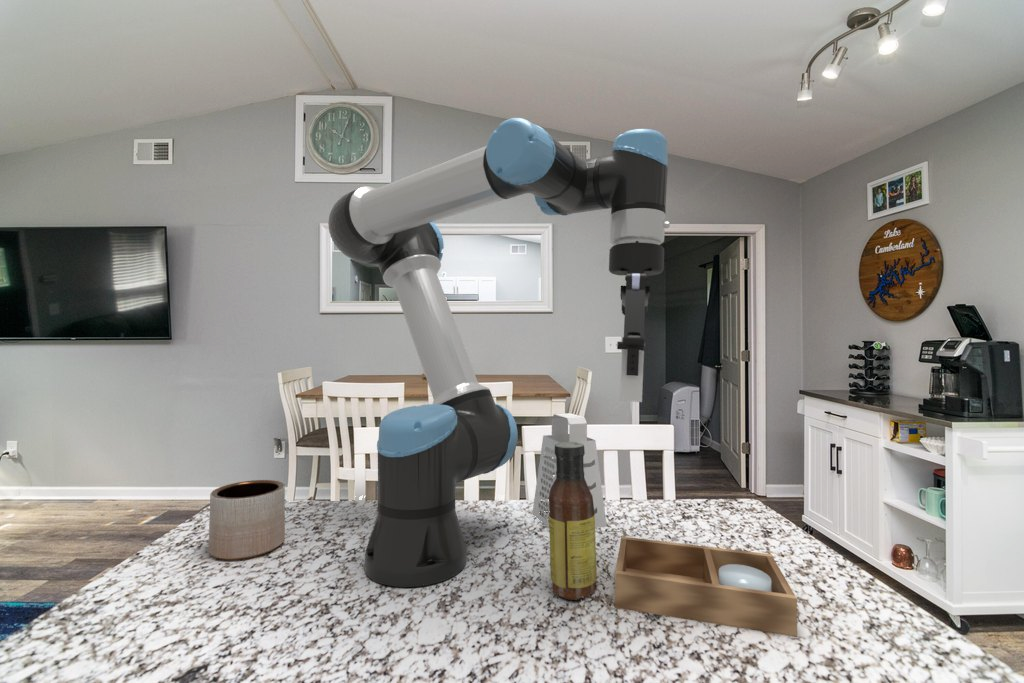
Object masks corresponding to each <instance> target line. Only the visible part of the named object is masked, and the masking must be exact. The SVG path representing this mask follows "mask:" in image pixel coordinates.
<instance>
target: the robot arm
mask: <svg viewBox="0 0 1024 683" xmlns="http://www.w3.org/2000/svg"><path fill="white" fill-rule="evenodd" d="M612 146H613V147H612V148H611V150H612V151H611V153H609V154H604V155H602V156H596V157H591V158H585V159H583V158H581V157H580V156H578V155H577V154H575V153H574V152H573V151H571V150H570V149H568V148H567V147H566V146H564V145H563V144H562V143H560V142H559V141H558V140H556V138H554V137H552V135H550V134H549V132H548V131H547V130H545V129H544V128H543V127H541V126H540V125H537V124H535V123H533V122H531V121H529V120H527V119H525V118H522V117H512V118H511V117H510V118H509V119H506V120H504V121H502V122H501V123H499V126H498V127H496V129H495V130H493V131H492V133H491V134H490V137H489V138H488V140H487V144H486V145H485V146H483V147H480V148H477V149H475V150H471V151H470V152H467V153H464V154H462V155H459V156H457V157H455V158H452V159H449V160H447V161H445V162H441V163H439V164H436V165H434V166H431V167H429V168H426V169H423V170H420V171H418V172H415V173H413V174H409V175H408V176H405V177H403V178H400V179H397V180H395V181H393V182H390V183H386V184H384V185H383V186H380V187H377V188H375V187H372V186H368V185H367V186H361V187H358V188H356V189H354V190H352V191H349V192H348V193H347V192H346V194H344V195H342V196H341V197H340V198H339V199H338V200H337V201H336V202H335V203H334V204H333V207H332V208H331V210H330V212H329V216H328V233H329V235H330V237H331V240H332V242H333V244H334V245H335V247H336V248H337V249H338V250H339V251H340V252H341V253H342V254H343V255H344V256H346V257H347V258H349V259H351V260H352V261H353V260H354V261H355V262H359V263H364V264H369V265H374V266H377V267H378V269H379V271H380V274H381V277H382V280H383V282H384V283H385V285H386V286H388V287H389V288H393V289H394V290H395V294H396V296H397V299H398V302H399V304H400V308H401V310H402V313H403V316H404V319H405V321H406V324H407V327H408V330H409V333H410V336H411V339H412V341H413V344H414V348H415V350H416V353H417V356H418V359H419V361H420V364H421V367H422V370H423V373H424V376H425V378H426V382H427V385H428V387H429V390H430V393H431V396H432V398H433V399H432V400H433V402H432V403H431V404H429V403H428V404H421V405H412V406H411V405H410V406H407V407H403V408H399V409H396V410H393V411H392V412H389V413H387V414H386V415H385V416H383V418H382V419H381V420H380V423H379V427H378V440H377V443H376V449H377V515H376V518H375V521H374V524H373V528H372V530H371V534H370V537H369V539H368V543H367V544H366V549H365V552H364V572H365V575H366V576H367V577H368V578H369V579H371V580H372V581H373V582H376V583H379V584H381V585H384V586H390V587H395V588H396V587H397V588H414V587H423V586H424V587H425V586H428V585H434V584H438V583H441V582H443V581H446V580H448V579H451V578H452V577H454V576H456V575H457V574H459V573H460V572H461V571H462V570H463V569H464V568H465V566H466V563H467V544H466V541H465V540H466V539H465V538H464V537H465V536H464V533H463V531H462V528H461V525H460V520H459V518H458V515H457V512H456V486H457V485H456V484H457V483H460V482H463V481H465V480H470V479H471V478H474V477H478V476H480V475H482V474H483V475H486V474H489V473H491V472H494V471H495V470H496V469H499V468H500V467H503V466H504V465H505V464H506V463H507V462H508V461H510V459H511V458H512V456H513V455H514V452H515V449H516V447H517V444H518V436H519V435H518V434H519V433H518V426H517V423H516V420H515V418H514V416H513V415H512V413H511V412H510V411H509V410H508V409H507V408H505V407H504V406H502V405H501V404H499V403H496V402H495V399H494V397H493V394H492V392H491V390H490V388H489V387H487V386H485V385H482V384H480V383H479V381H478V379H477V377H476V373H475V371H474V369H473V366H472V363H471V361H470V358H469V356H468V353H467V350H466V348H465V347H466V346H465V345H464V343H463V340H462V337H461V334H460V331H459V329H458V327H457V323H456V321H455V318H454V315H453V313H452V311H451V307H450V305H449V303H448V300H447V297H446V294H445V292H444V289H443V287H442V283H441V282H440V280H439V279H440V278H439V276H438V273H439V271H440V269H441V266H442V263H441V261H442V259H443V253H442V250H444V248H445V246H444V245H445V244H444V239H443V235H442V233H441V231H440V229H439V227H438V226H437V225H436V223H435V222H436V221H439V220H443V219H446V218H448V217H452V216H455V215H458V214H462V213H465V212H468V211H471V210H472V211H473V210H476V209H478V208H481V207H484V206H488V205H490V204H494V203H497V202H501V201H503V200H508V199H511V198H512V199H513V198H516V197H519V196H522V195H524V194H532V195H533V196H534V199H535V202H536V205H537V206H538V207H539V208H540V211H541V212H542V213H543V214H544V215H547V216H568V215H569V216H570V215H572V214H580V213H586V212H593V211H601V210H607V209H611V210H610V212H611V213H610V217H609V218H610V220H609V222H610V223H609V224H610V225H609V243H610V244H611V245H612V246H611V247H610V248H609V255H608V256H609V259H608V271H609V273H611V274H612V275H615V276H624V281H625V285H620V300H621V314H622V315H623V316H624V324H623V337H622V340H621V341H617V347H616V349H617V350H621V371H620V372H621V373H620V394H619V395H620V396H619V398H620V399H619V400H620V401H621V402H635V403H643V382H644V363H645V362H644V361H645V359H644V358H645V351H644V350H646V338H645V320H646V319H645V317H646V316H645V315H646V314H647V312H648V309H649V308H648V307H649V306H648V305H649V299H650V292H651V286H650V285H646V282H647V281H648V276H649V277H651V276H656V275H661V274H662V273H663V271H664V269H665V268H664V267H665V265H664V264H665V263H664V262H665V248H664V247H663V245H662V244H663V243H664V242H665V229H669V228H670V226H671V225H670V224H671V223H670V222H669V221H666V220H665V219H666V208H667V207H666V206H667V204H666V203H667V187H668V171H669V165H668V161H669V160H668V141H667V138H666V136H664V135H663V134H662V132H660V131H658V130H655V129H651V128H650V129H649V128H635V129H630V130H627V131H625V132H624V133H622V134H619V135H617V136H616V138H615V139H614V141H613V145H612Z"/></svg>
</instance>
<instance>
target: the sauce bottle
mask: <svg viewBox="0 0 1024 683" xmlns="http://www.w3.org/2000/svg"><path fill="white" fill-rule="evenodd" d="M584 454H585V451H584V444H582V443H578V442H561V443H557V444H555V455H556V467H557V471H556V480H555V481H554V483H553V485H552V487H551V489H550V493H549V498H548V501H549V511H550V512H549V517H548V522H549V528H548V529H549V571H550V575H549V576H550V581H551V585H552V586H551V587H552V590H553V592H554V595H557V596H559V597H560V598H564V599H565V600H568V601H581V600H582V597H588V596H590V595H591V594H593V593H594V592H596V590H597V579H598V577H597V576H598V575H597V573H598V572H597V569H598V568H597V552H596V550H597V546H596V528H595V513H594V505H593V497H592V494H591V492H590V490H589V488H588V485H587V483H586V481H585V478H584V464H583V456H584Z"/></svg>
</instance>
